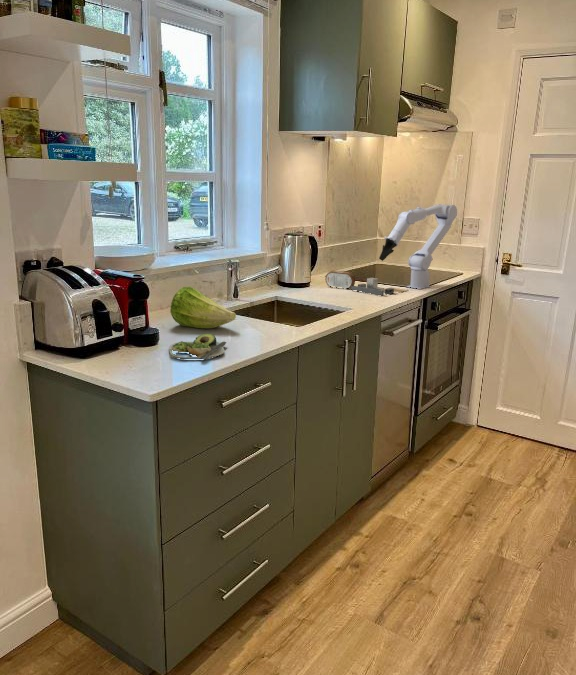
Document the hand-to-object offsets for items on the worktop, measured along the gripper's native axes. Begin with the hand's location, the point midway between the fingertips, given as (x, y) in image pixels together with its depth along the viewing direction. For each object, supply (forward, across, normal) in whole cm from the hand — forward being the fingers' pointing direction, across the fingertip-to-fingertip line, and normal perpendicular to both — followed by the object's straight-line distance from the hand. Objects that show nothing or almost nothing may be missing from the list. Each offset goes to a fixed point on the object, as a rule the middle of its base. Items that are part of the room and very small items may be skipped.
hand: (382, 257), depth 269 cm
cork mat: (+7, -11, +13) cm, 19 cm away
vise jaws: (+15, -6, +5) cm, 17 cm away
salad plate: (+85, +85, -28) cm, 123 cm away
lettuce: (+75, +58, -37) cm, 102 cm away
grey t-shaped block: (+13, -8, +6) cm, 17 cm away
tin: (+20, -15, -10) cm, 26 cm away
